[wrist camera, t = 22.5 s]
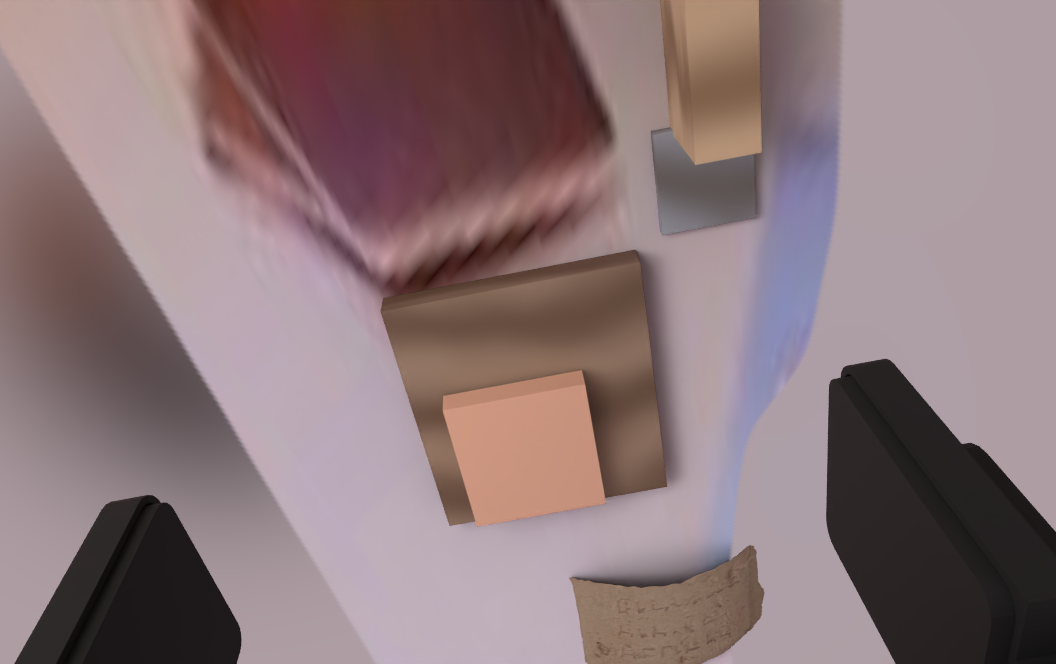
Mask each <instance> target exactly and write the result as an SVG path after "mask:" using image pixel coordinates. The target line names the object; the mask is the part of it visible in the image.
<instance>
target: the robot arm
mask: <svg viewBox="0 0 1056 664" xmlns="http://www.w3.org/2000/svg"><path fill="white" fill-rule="evenodd" d="M826 510H827V511H826V521H827V528H828V533H829V536H830V539H831V542H832V544H833V546H834V548H835V550H836V552H837V554H838V556H839V558H840V560H841V562H842V563H843V565H844V567H845V569H846V571H847V573H848V575H849V577H850V579H851V580H852V582H853V584H854V586H855V588H856V590H857V592H858V594H859V595H860V597H861V599H862V601H863V603H864V605H865V607H866V609H867V611H868V612H869V614H870V616H871V618H872V620H873V622H874V624H875V626H876V628H877V629H878V631H879V633H880V635H881V637H882V639H883V641H884V643H885V644H886V646H887V648H888V650H889V652H890V654H891V656H892V658H893V659H894V661H895V663H896V664H1056V532H1055V531H1054V529H1053V528H1052V527H1051V526H1050V525H1049V524H1048V523H1047V521H1046V520H1045V519H1044V518H1043V517H1042V516H1041V515H1040V513H1038V511H1037V510H1036V509H1035V508H1034V507H1033V506H1032V504H1031V503H1030V502H1029V501H1028V500H1027V499H1026V497H1025V496H1024V495H1023V494H1022V493H1021V492H1020V491H1019V489H1018V488H1017V487H1016V486H1015V485H1014V484H1013V482H1012V481H1011V480H1010V479H1009V478H1008V477H1007V476H1006V474H1005V473H1004V472H1003V471H1002V470H1001V469H1000V468H999V467H998V465H997V464H996V463H995V462H994V461H993V460H992V458H991V457H990V456H989V455H988V454H987V453H986V452H985V451H984V450H983V449H981V448H980V447H979V446H977V445H975V444H972V443H967V444H961V443H960V442H959V440H958V439H957V438H956V437H955V436H954V434H952V432H951V431H950V430H949V428H948V427H947V426H946V425H945V424H944V423H943V421H942V420H941V419H940V418H939V417H938V416H937V414H936V413H935V412H934V411H933V410H932V408H931V407H930V406H929V405H928V404H927V402H926V401H925V400H924V399H923V398H922V397H921V395H920V394H919V393H918V392H917V391H916V389H915V388H914V387H913V386H912V385H911V384H910V382H909V381H908V380H907V379H906V378H905V376H904V375H903V374H902V373H901V372H900V370H898V368H897V367H896V366H895V364H894V363H892V362H891V361H890V360H888V359H882V360H876V361H871V362H865V363H860V364H855V365H849V366H845V367H844V368H843V370H842V372H841V378H837V379H833V380H831V382H830V385H829V416H828V464H827V509H826ZM240 649H241V632H240V627H239V625H238V622H237V621H236V619H235V617H234V615H233V614H232V612H231V610H230V608H229V606H228V605H227V603H226V601H225V599H224V598H223V596H222V594H221V592H220V590H219V589H218V587H217V585H216V584H215V582H214V580H213V578H212V576H211V575H210V573H209V571H208V570H207V568H206V566H205V564H204V562H203V560H202V559H201V557H200V555H199V553H198V552H197V550H196V548H195V546H194V544H193V543H192V541H191V539H190V537H189V536H188V534H187V532H186V530H185V529H184V527H183V525H182V523H181V521H180V520H179V518H178V516H177V514H176V513H175V511H174V509H173V508H172V506H171V505H169V504H168V503H160V501H159V500H158V499H157V498H156V497H154V496H152V495H146V496H140V497H135V498H130V499H124V500H119V501H113V502H110V503H108V504H106V505H105V506H104V508H103V509H102V510H101V512H100V514H99V515H98V517H97V519H96V521H95V522H94V524H93V526H92V528H91V530H90V531H89V533H88V535H87V537H86V538H85V540H84V542H83V544H82V545H81V547H80V549H79V551H78V552H77V554H76V556H75V558H74V559H73V561H72V563H71V565H70V567H69V568H68V570H67V572H66V574H65V575H64V577H63V579H62V581H61V582H60V584H59V586H58V588H57V589H56V591H55V593H54V595H53V597H52V598H51V600H50V602H49V604H48V605H47V607H46V609H45V611H44V613H43V614H42V616H41V618H40V620H39V621H38V623H37V625H36V627H35V629H34V630H33V632H32V634H31V635H30V637H29V639H28V641H27V642H26V644H25V646H24V648H23V649H22V651H21V653H20V655H19V657H18V658H17V660H16V662H15V664H237V660H238V657H239V653H240Z"/></svg>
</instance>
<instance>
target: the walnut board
mask: <svg viewBox="0 0 1056 664" xmlns="http://www.w3.org/2000/svg"><path fill="white" fill-rule="evenodd" d="M381 314H382V317H383V321H384V324H385V327H386V330H387V333H388V336H389V339H390V342H391V345H392V348H393V352H394V355H395V358H396V361H397V364H398V367H399V370H400V373H401V376H402V380H403V383H404V386H405V389H406V392H407V395H408V398H409V401H410V404H411V407H412V411H413V414H414V417H415V420H416V423H417V426H418V429H419V432H420V435H421V439H422V442H423V445H424V448H425V451H426V454H427V457H428V460H429V463H430V466H431V470H432V473H433V476H434V479H435V482H436V485H437V488H438V491H439V494H440V498H441V501H442V504H443V507H444V510H445V513H446V516H447V519H448V522H449V525H450V526H452V525H457V524H463V523H468V522H474V521H475V518H474V515H473V511H472V508H471V504H470V501H469V498H468V494H467V491H466V488H465V484H464V481H463V478H462V474H461V471H460V467H459V464H458V461H457V457H456V454H455V451H454V447H453V444H452V441H451V437H450V434H449V430H448V427H447V424H446V420H445V417H444V414H443V396H445V395H451V394H456V393H462V392H467V391H472V390H478V389H483V388H488V387H494V386H499V385H504V384H510V383H515V382H520V381H526V380H531V379H536V378H542V377H547V376H552V375H558V374H563V373H569V372H574V371H579V370H582V373H583V377H584V382H585V387H586V392H587V398H588V404H589V409H590V415H591V421H592V427H593V432H594V438H595V444H596V449H597V455H598V461H599V466H600V472H601V478H602V483H603V489H604V495H605V498H607V497H612V496H618V495H624V494H629V493H635V492H640V491H646V490H651V489H657V488H662V487H667V482H666V474H665V466H664V457H663V449H662V441H661V432H660V424H659V416H658V407H657V399H656V391H655V382H654V374H653V366H652V357H651V349H650V341H649V332H648V324H647V315H646V307H645V299H644V290H643V282H642V274H641V265H640V261H639V258H638V256H637V254H636V251H635V250H632V251H627V252H622V253H616V254H611V255H606V256H601V257H596V258H590V259H585V260H580V261H575V262H570V263H564V264H559V265H554V266H549V267H544V268H538V269H533V270H528V271H523V272H518V273H512V274H507V275H502V276H497V277H492V278H486V279H481V280H476V281H471V282H466V283H460V284H455V285H450V286H445V287H440V288H434V289H429V290H424V291H419V292H414V293H408V294H403V295H398V296H393V297H388V298H383V302H382V307H381Z"/></svg>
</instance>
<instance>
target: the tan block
mask: <svg viewBox="0 0 1056 664" xmlns="http://www.w3.org/2000/svg"><path fill="white" fill-rule="evenodd" d="M660 4H661V16H662V29H663V41H664V54H665V66H666V78H667V91H668V103H669V115H670V128H665V129H660V130H655V131H651V139H652V150H653V161H654V171H655V182H656V193H657V203H658V214H659V224H660V232H661V233H662V235H666V234H671V233H677V232H682V231H687V230H693V229H698V228H704V227H709V226H714V225H720V224H725V223H730V222H736V221H741V220H746V219H752V218H756V199H755V160H754V154H756V153H762V137H761V88H760V38H759V0H660Z"/></svg>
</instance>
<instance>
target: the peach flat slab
mask: <svg viewBox="0 0 1056 664" xmlns="http://www.w3.org/2000/svg"><path fill="white" fill-rule="evenodd" d="M443 414H444V417H445V420H446V424H447V427H448V430H449V434H450V437H451V441H452V444H453V447H454V451H455V454H456V457H457V461H458V464H459V467H460V471H461V474H462V478H463V481H464V484H465V488H466V491H467V494H468V498H469V501H470V504H471V508H472V511H473V515H474V518H475V521H476V525H477V527H478V526H483V525H489V524H494V523H500V522H505V521H511V520H516V519H522V518H528V517H533V516H539V515H544V514H550V513H555V512H561V511H566V510H572V509H577V508H583V507H589V506H594V505H600V504H605V503H606V500H605V495H604V489H603V483H602V478H601V472H600V466H599V461H598V455H597V449H596V444H595V438H594V432H593V427H592V421H591V415H590V409H589V404H588V398H587V392H586V387H585V382H584V377H583V373H582V370H579V371H574V372H569V373H563V374H558V375H552V376H547V377H542V378H536V379H531V380H526V381H520V382H515V383H510V384H504V385H499V386H494V387H488V388H483V389H478V390H472V391H467V392H462V393H456V394H451V395H445V396H443Z"/></svg>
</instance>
